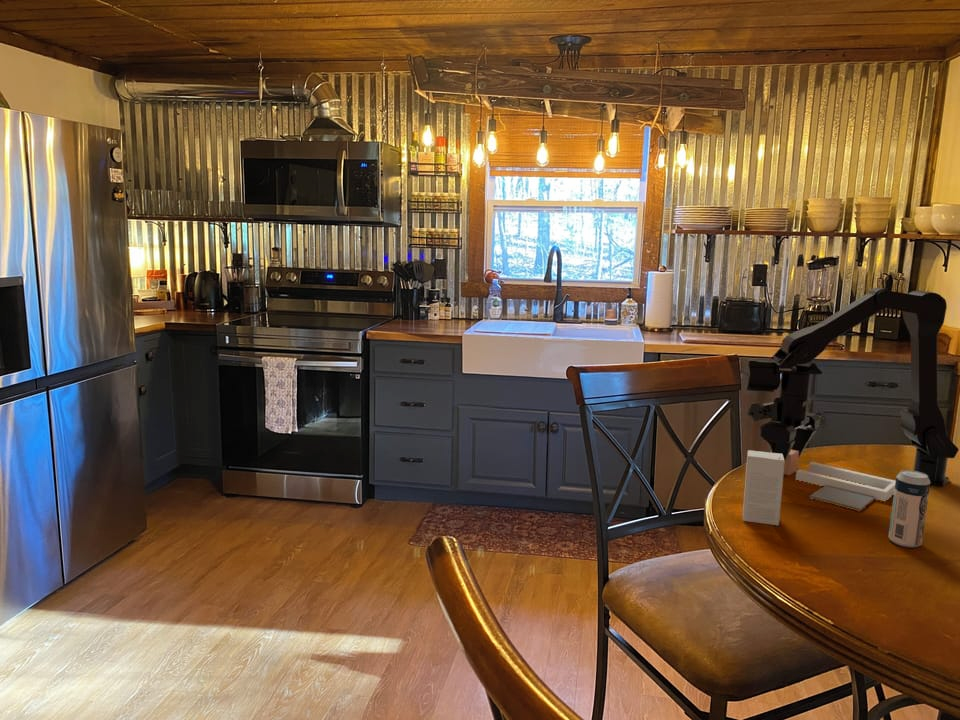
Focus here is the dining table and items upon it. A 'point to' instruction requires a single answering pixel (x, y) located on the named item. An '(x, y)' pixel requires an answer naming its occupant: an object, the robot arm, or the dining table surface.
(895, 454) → the dining table surface
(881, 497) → the channel
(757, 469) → the skincare box
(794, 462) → the block
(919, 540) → the beer can
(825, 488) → the coaster
